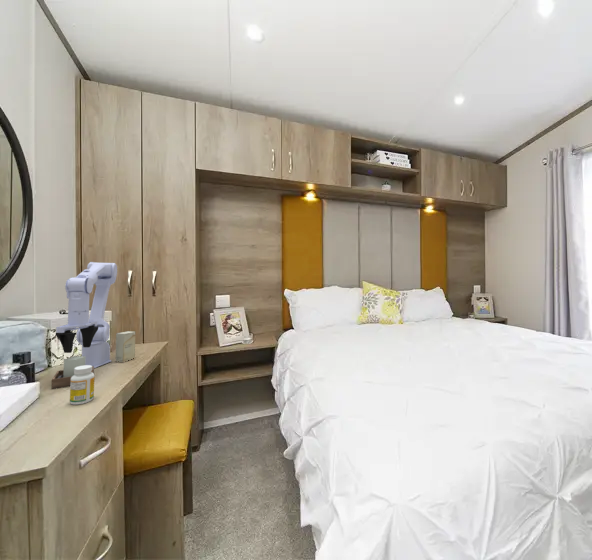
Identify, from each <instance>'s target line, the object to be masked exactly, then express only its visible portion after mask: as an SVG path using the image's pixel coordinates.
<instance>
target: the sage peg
mask: <svg viewBox="0 0 592 560" xmlns="http://www.w3.org/2000/svg"><path fill="white" fill-rule="evenodd" d="M85 358H86V356H82V355H78V356H77V355H74V356H71V357H67V358H64V359H63V370H64V373H63V378H64V377H71V376H73V375H75V374H74V368H76V367H78V366H83V365H85Z"/></svg>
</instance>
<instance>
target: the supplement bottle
mask: <svg viewBox="0 0 592 560" xmlns="http://www.w3.org/2000/svg"><path fill="white" fill-rule="evenodd" d="M91 371H92V366H91V365H83V366H78V367H76V368H74V374H75V375H73V376H72V377H71V383H70V386H69V387H70V389H69V404H70V405H73V406H74V405H75V406H78V405H83V404H87V403H89V402H91V401H93V400H94V398H95V376H96V375H95V372H94V373H92V372H91Z"/></svg>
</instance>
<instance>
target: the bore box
mask: <svg viewBox="0 0 592 560" xmlns="http://www.w3.org/2000/svg"><path fill="white" fill-rule="evenodd" d="M94 371H95V368H94V366H92V371H91V372H92V373H94V374H95V372H94ZM63 373H64V369H62V370H56V372H55V374H54V375H53V378H52V379H51V390H55V389H56V388H57V389H61V387H63V388H68V387H67V386H69V387H70V383H71V377H72V376H71V377H64V378H63Z"/></svg>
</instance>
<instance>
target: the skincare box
mask: <svg viewBox="0 0 592 560" xmlns="http://www.w3.org/2000/svg"><path fill="white" fill-rule="evenodd" d="M133 358H135V359H136V331H130V330H128V331H127V330H126V331H123V332H122V331H121V332H117V333H116V334H115V362H116V361H119V362H118V363H126V362H129V361H132V360H131V359H133ZM128 360H129V361H128ZM133 360H134V359H133ZM125 361H126V362H125Z"/></svg>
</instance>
